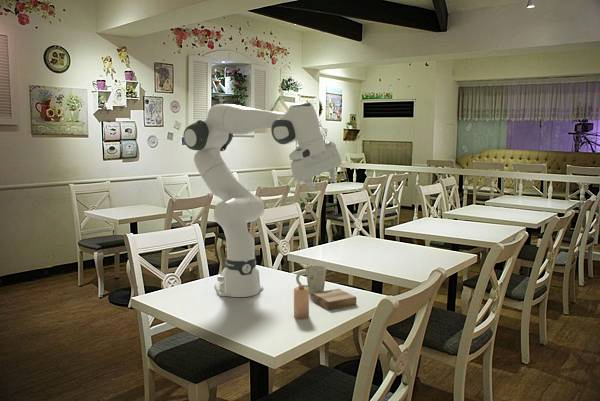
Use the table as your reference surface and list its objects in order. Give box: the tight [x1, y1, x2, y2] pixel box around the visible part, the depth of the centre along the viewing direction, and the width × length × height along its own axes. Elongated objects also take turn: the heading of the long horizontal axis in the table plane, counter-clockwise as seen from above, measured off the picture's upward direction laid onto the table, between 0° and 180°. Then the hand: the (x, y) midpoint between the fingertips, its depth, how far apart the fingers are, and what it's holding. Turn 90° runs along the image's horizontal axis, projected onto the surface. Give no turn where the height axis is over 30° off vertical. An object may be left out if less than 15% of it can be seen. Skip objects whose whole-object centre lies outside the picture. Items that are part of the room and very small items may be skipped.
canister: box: [293, 284, 310, 320], centre depth 175 cm, size 5×5×11 cm
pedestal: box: [312, 288, 357, 311], centre depth 190 cm, size 12×12×3 cm
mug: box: [295, 265, 327, 295], centre depth 203 cm, size 8×13×10 cm, turn 78°
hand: (322, 185), depth 177 cm, fingers open, 8 cm apart
